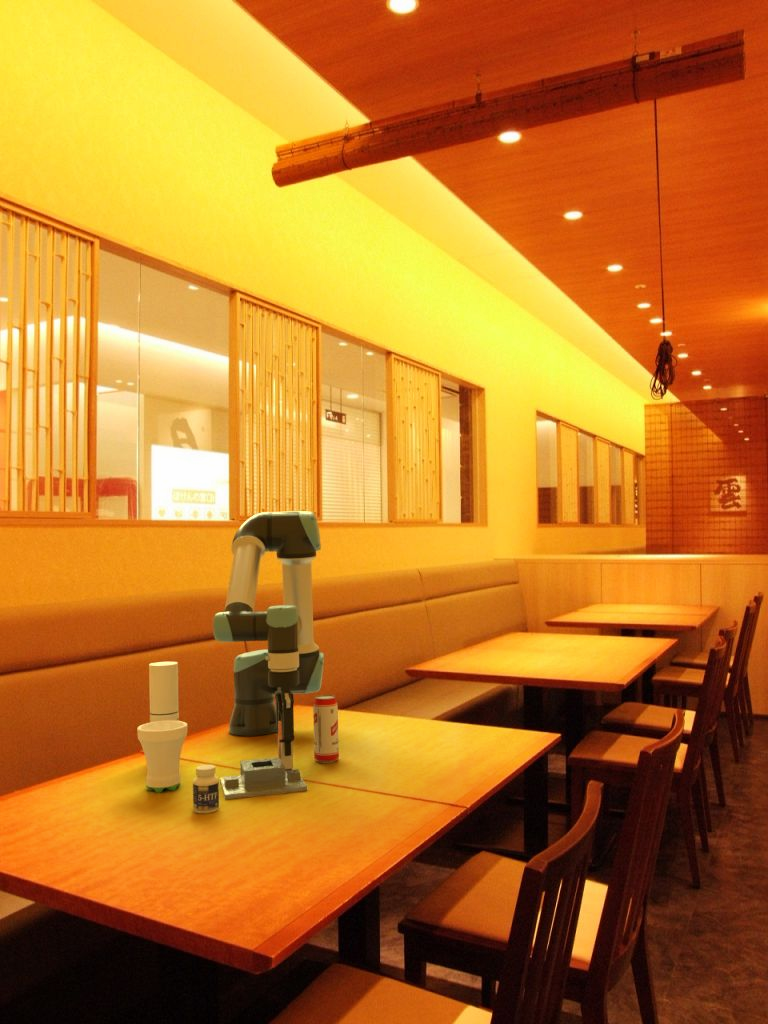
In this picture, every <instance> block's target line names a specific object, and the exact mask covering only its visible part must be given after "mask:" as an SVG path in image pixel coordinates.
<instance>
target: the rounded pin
mask: <svg viewBox="0 0 768 1024" xmlns="http://www.w3.org/2000/svg"><path fill="white" fill-rule="evenodd" d="M277 732H278V734H277V739H278V738H279V740H282V728H281V720H279V721H278V731H277ZM289 736H290V735H289ZM279 758H280V760H281V762H282V758H281V743H279ZM286 770H294V768H293V769H285V771H286Z"/></svg>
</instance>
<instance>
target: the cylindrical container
mask: <svg viewBox="0 0 768 1024" xmlns="http://www.w3.org/2000/svg"><path fill="white" fill-rule="evenodd" d="M178 663H179V662H178V661H159V662H151V663H149V664H148V676H149V677H148V678H149V680H148V681H149V682H148V683H149V684H148V685H149V686H148V687H149V723H151V722H157V721H180V720H179V719H180V718H179V716H180V715H179V710H180V709H179V669H178V668H179V666H178V665H179V664H178Z"/></svg>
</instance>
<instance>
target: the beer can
mask: <svg viewBox="0 0 768 1024" xmlns="http://www.w3.org/2000/svg"><path fill="white" fill-rule="evenodd" d="M312 709H313V711H312V712H313V715H312V716H313V717H312V718H313V751H314V752H313V754H314V755H313V756H314V760H315V761H316V762H317V763H321V764H331V763H335V762H336V761H338V759H339V758H340V751H339V750H340V747H339V712H338V711H339V710H338V701H337V699H336V696H335V694H334V695H333V694H322V695H321V694H320V695H316V696H315V697H314V701H313V705H312Z"/></svg>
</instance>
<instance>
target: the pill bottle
mask: <svg viewBox="0 0 768 1024" xmlns="http://www.w3.org/2000/svg"><path fill="white" fill-rule="evenodd" d="M215 774H216V765H214V764H201V765H198V766H196V768H195V775H196V777H195V778H193V780H192V808H193V809H192V810H193V812H194V813H197V814H210V813H214V812H217V811H218V810H219V809H220V794H219V793H220V787H219V786H220V784H219V783H220V779H219V778H218V776H217V775H215Z"/></svg>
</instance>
